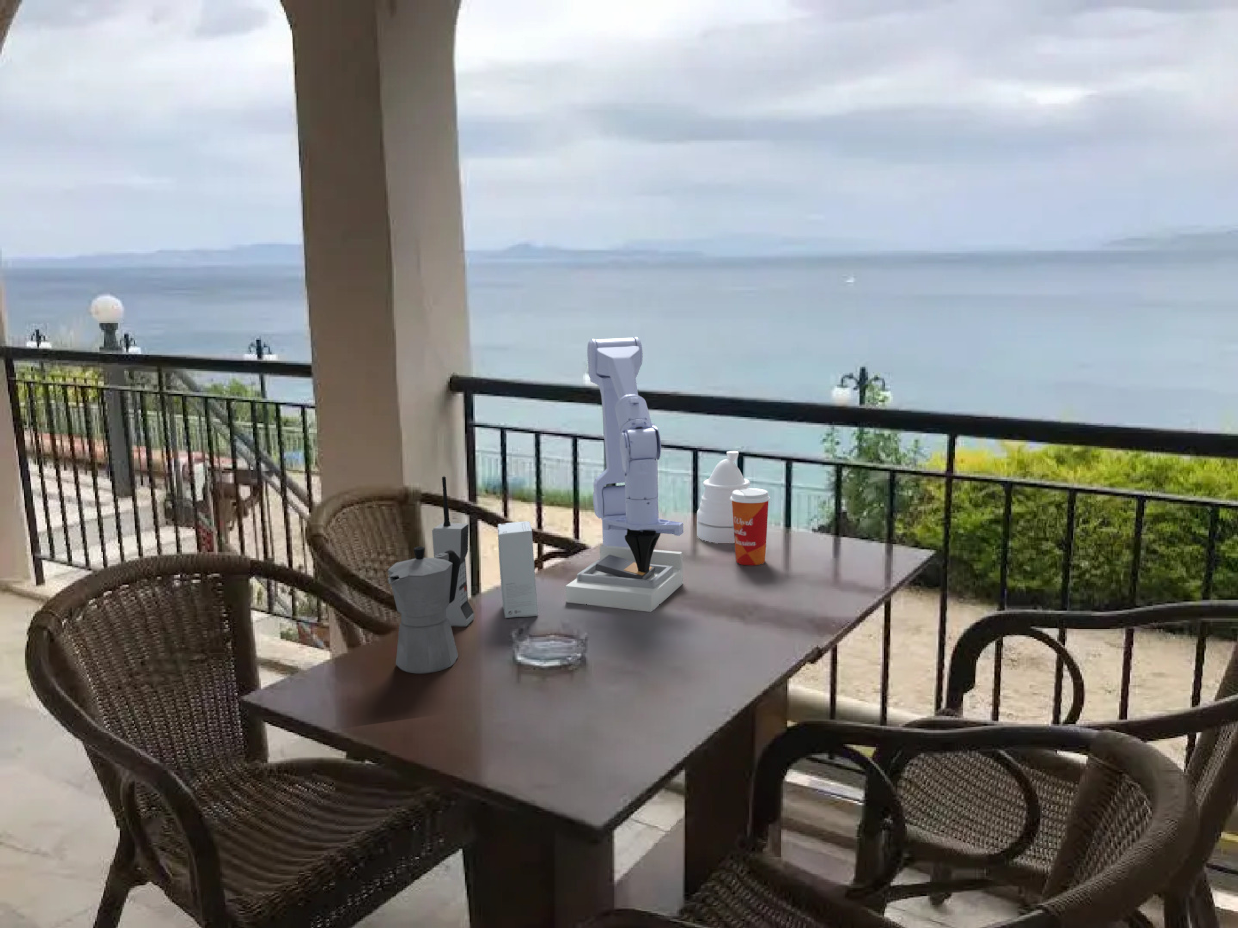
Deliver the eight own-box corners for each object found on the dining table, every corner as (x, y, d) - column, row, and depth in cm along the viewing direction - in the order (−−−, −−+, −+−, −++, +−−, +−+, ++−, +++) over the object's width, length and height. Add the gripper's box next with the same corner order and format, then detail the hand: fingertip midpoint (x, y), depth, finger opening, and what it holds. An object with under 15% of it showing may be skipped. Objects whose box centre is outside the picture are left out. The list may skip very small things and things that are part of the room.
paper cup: (723, 559, 198) (722, 490, 196) (756, 553, 201) (756, 485, 199) (744, 569, 191) (744, 498, 189) (778, 563, 194) (778, 493, 192)
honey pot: (726, 524, 224) (725, 445, 221) (769, 535, 215) (769, 452, 211) (684, 536, 216) (683, 453, 213) (728, 547, 207) (727, 461, 203)
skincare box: (538, 616, 169) (534, 531, 166) (502, 619, 169) (497, 533, 166) (535, 600, 177) (531, 519, 175) (501, 603, 177) (496, 521, 174)
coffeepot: (422, 683, 143) (413, 562, 140) (373, 672, 148) (363, 554, 144) (487, 647, 156) (481, 535, 153) (440, 637, 161) (433, 529, 158)
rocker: (608, 560, 184) (609, 554, 183) (654, 573, 181) (655, 566, 180) (595, 570, 178) (596, 563, 178) (641, 583, 175) (642, 576, 175)
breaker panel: (603, 575, 190) (602, 545, 189) (683, 583, 184) (682, 552, 183) (566, 602, 176) (564, 569, 175) (651, 611, 170) (650, 577, 169)
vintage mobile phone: (467, 627, 165) (457, 478, 160) (438, 626, 166) (428, 478, 161) (474, 619, 169) (465, 474, 164) (446, 618, 170) (436, 473, 165)
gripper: (594, 499, 174) (597, 574, 177) (672, 504, 169) (674, 581, 171) (610, 490, 181) (613, 563, 183) (686, 495, 175) (688, 569, 178)
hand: (643, 571), depth 178 cm, fingers closed, pressing on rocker
